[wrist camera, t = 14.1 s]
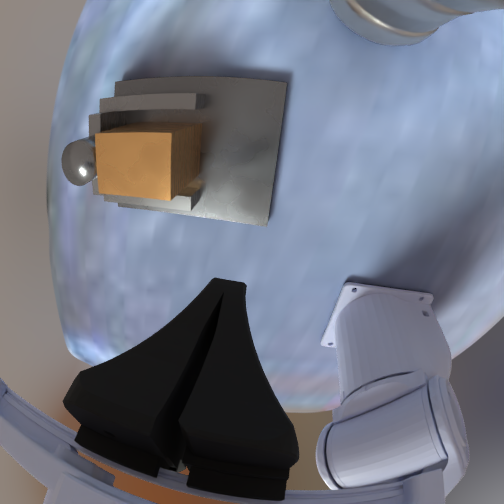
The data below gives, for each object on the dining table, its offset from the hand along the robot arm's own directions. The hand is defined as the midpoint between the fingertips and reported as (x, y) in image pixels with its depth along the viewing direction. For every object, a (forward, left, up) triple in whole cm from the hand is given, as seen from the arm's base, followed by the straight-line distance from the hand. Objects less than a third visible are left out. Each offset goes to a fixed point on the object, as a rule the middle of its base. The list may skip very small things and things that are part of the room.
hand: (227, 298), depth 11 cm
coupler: (+5, -4, -10) cm, 12 cm away
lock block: (+6, -4, -9) cm, 12 cm away
